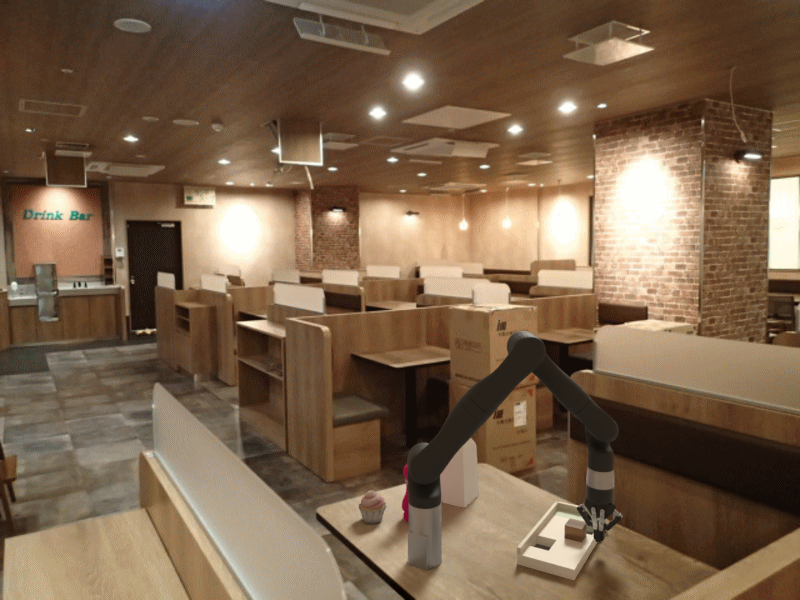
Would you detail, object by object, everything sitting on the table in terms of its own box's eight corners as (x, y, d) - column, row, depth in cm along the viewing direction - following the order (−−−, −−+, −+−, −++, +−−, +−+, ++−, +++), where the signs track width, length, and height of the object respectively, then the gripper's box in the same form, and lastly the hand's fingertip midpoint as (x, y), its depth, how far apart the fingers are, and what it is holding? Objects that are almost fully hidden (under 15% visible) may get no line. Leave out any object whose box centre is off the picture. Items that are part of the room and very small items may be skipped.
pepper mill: (415, 526, 197) (414, 465, 194) (397, 519, 201) (396, 460, 199) (428, 517, 202) (428, 458, 200) (410, 511, 207) (409, 453, 204)
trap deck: (574, 580, 165) (574, 562, 165) (517, 564, 174) (517, 547, 173) (606, 527, 194) (606, 512, 193) (555, 515, 202) (556, 500, 202)
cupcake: (391, 523, 199) (390, 493, 198) (363, 528, 196) (362, 498, 194) (381, 510, 208) (380, 482, 206) (354, 516, 204) (353, 486, 203)
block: (581, 542, 179) (581, 529, 178) (564, 538, 181) (564, 525, 181) (586, 535, 183) (586, 522, 183) (569, 531, 186) (569, 518, 185)
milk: (479, 495, 218) (479, 423, 215) (464, 508, 209) (464, 432, 206) (448, 488, 225) (448, 418, 222) (433, 500, 215) (432, 427, 212)
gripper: (627, 483, 176) (625, 541, 178) (580, 473, 183) (579, 530, 185) (621, 492, 169) (619, 553, 171) (573, 483, 176) (571, 541, 178)
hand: (598, 541), depth 178 cm, fingers closed
